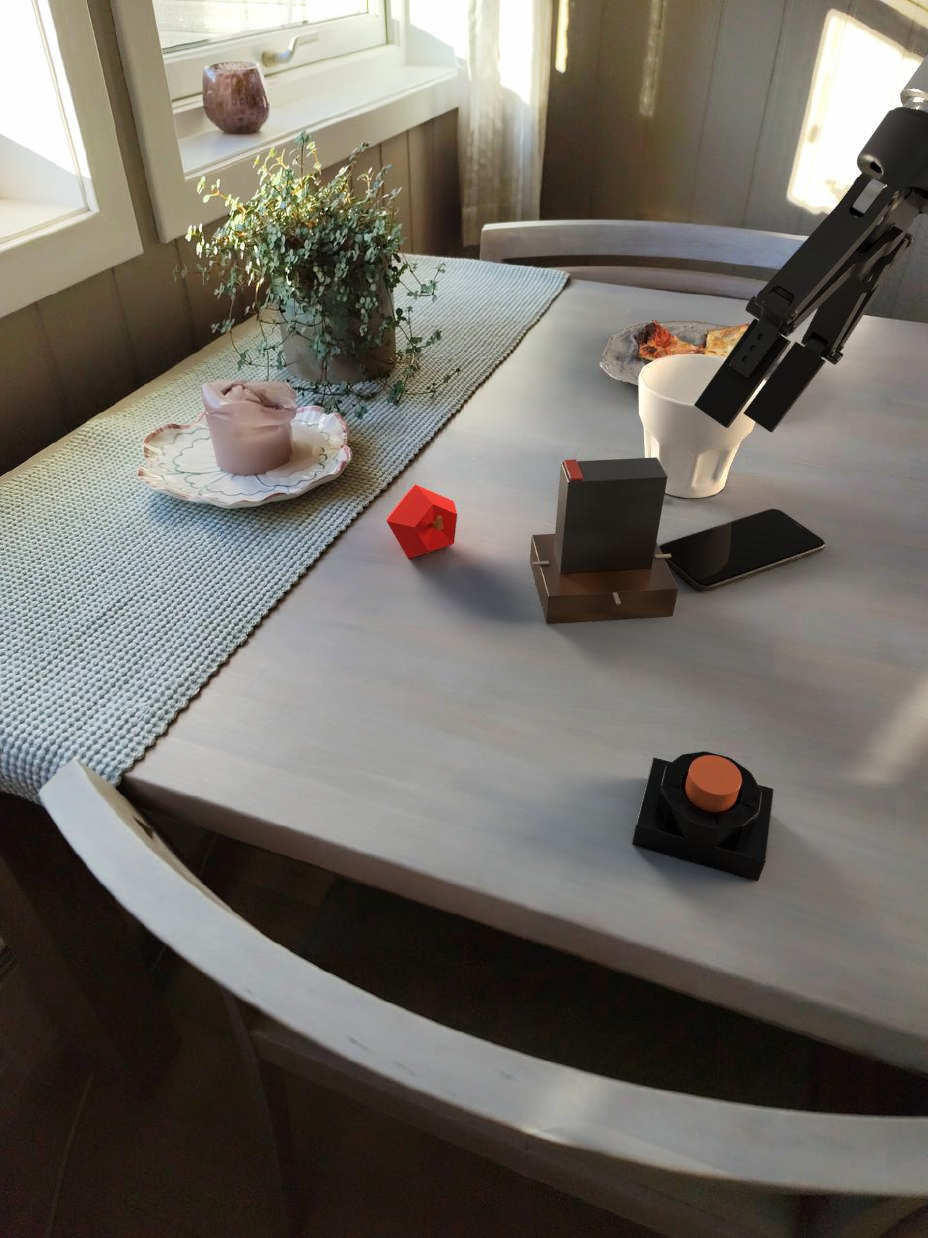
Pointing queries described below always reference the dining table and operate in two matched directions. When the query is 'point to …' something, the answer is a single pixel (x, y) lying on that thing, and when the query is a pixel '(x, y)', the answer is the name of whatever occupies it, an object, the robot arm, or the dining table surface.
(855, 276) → the robot arm
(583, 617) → the base
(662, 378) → the cup
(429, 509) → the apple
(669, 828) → the button block
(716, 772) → the button
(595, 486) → the dark grey block
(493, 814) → the dining table surface
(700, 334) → the food plate
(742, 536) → the smartphone
